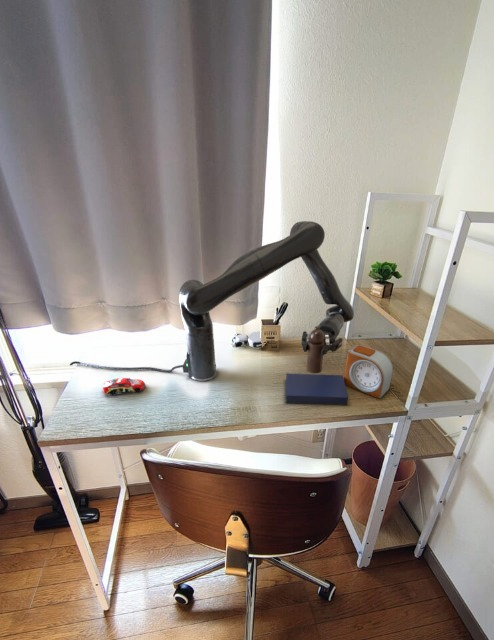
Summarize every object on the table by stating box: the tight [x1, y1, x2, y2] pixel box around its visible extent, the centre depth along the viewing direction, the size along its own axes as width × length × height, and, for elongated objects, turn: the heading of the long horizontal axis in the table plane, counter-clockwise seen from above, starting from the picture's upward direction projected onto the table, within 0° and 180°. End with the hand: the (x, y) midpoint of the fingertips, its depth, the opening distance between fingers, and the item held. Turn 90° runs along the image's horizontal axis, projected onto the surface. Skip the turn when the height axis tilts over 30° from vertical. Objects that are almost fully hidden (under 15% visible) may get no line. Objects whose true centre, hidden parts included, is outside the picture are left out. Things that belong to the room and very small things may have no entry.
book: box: [285, 372, 349, 406], centre depth 126 cm, size 20×14×3 cm
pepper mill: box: [306, 325, 324, 374], centre depth 118 cm, size 5×5×14 cm
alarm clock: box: [343, 344, 394, 399], centre depth 128 cm, size 15×8×14 cm, turn 53°
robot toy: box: [230, 331, 266, 350], centre depth 154 cm, size 12×4×15 cm
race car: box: [102, 377, 146, 396], centre depth 123 cm, size 13×5×4 cm, turn 103°
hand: (313, 351), depth 116 cm, fingers closed on pepper mill, 5 cm apart
